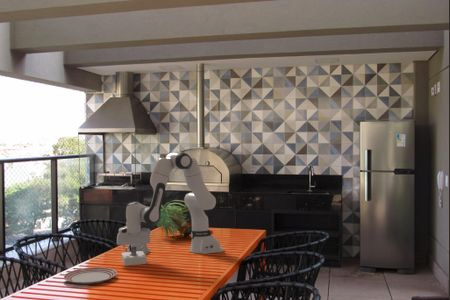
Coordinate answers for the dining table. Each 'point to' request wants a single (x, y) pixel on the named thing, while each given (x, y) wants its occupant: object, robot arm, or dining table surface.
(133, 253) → the pin
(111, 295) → the dining table surface
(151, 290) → the dining table surface
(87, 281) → the dinner plate
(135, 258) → the grey block with hole
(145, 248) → the grey curved slotted block
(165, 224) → the plant
